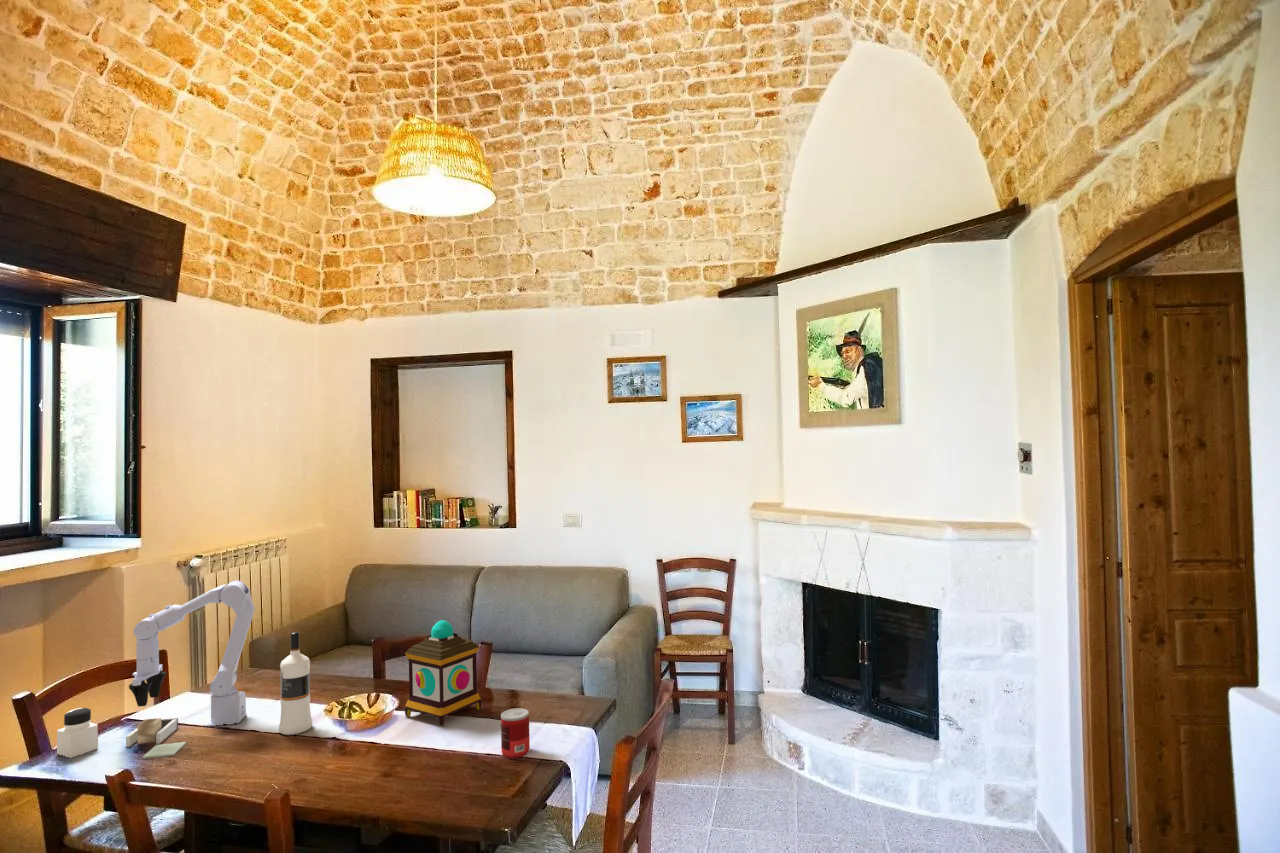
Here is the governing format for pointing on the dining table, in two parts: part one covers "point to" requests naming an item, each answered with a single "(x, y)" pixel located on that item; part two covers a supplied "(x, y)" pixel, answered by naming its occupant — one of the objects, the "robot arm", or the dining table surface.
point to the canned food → (515, 733)
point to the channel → (166, 729)
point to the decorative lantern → (442, 674)
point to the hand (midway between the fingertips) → (148, 701)
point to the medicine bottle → (77, 734)
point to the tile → (164, 750)
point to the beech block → (148, 730)
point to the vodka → (295, 691)
